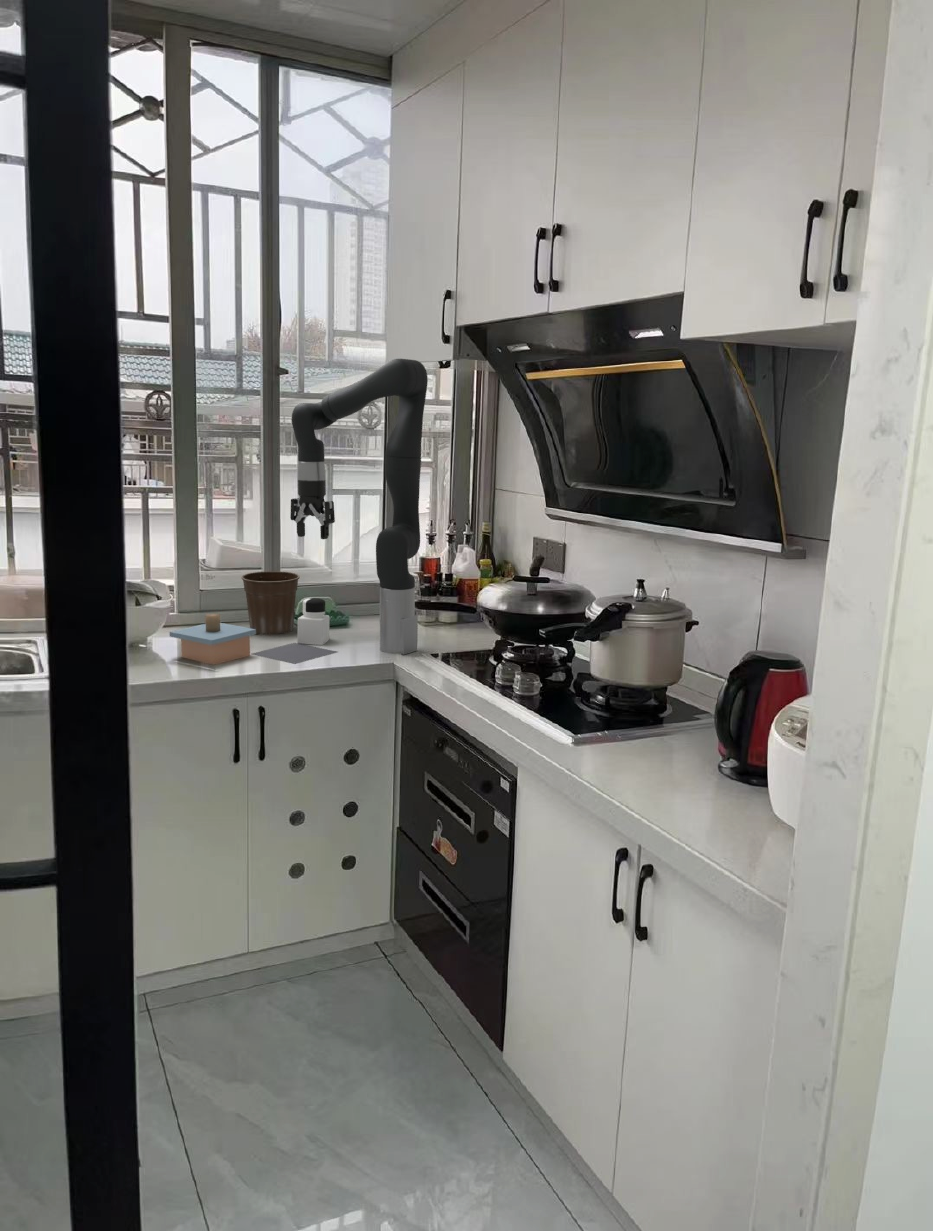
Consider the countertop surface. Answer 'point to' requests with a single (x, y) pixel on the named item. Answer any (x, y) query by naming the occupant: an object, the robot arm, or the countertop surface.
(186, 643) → the square orange box
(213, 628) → the lid
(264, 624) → the plant pot
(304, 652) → the mat
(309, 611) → the medicine bottle
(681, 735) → the countertop surface
